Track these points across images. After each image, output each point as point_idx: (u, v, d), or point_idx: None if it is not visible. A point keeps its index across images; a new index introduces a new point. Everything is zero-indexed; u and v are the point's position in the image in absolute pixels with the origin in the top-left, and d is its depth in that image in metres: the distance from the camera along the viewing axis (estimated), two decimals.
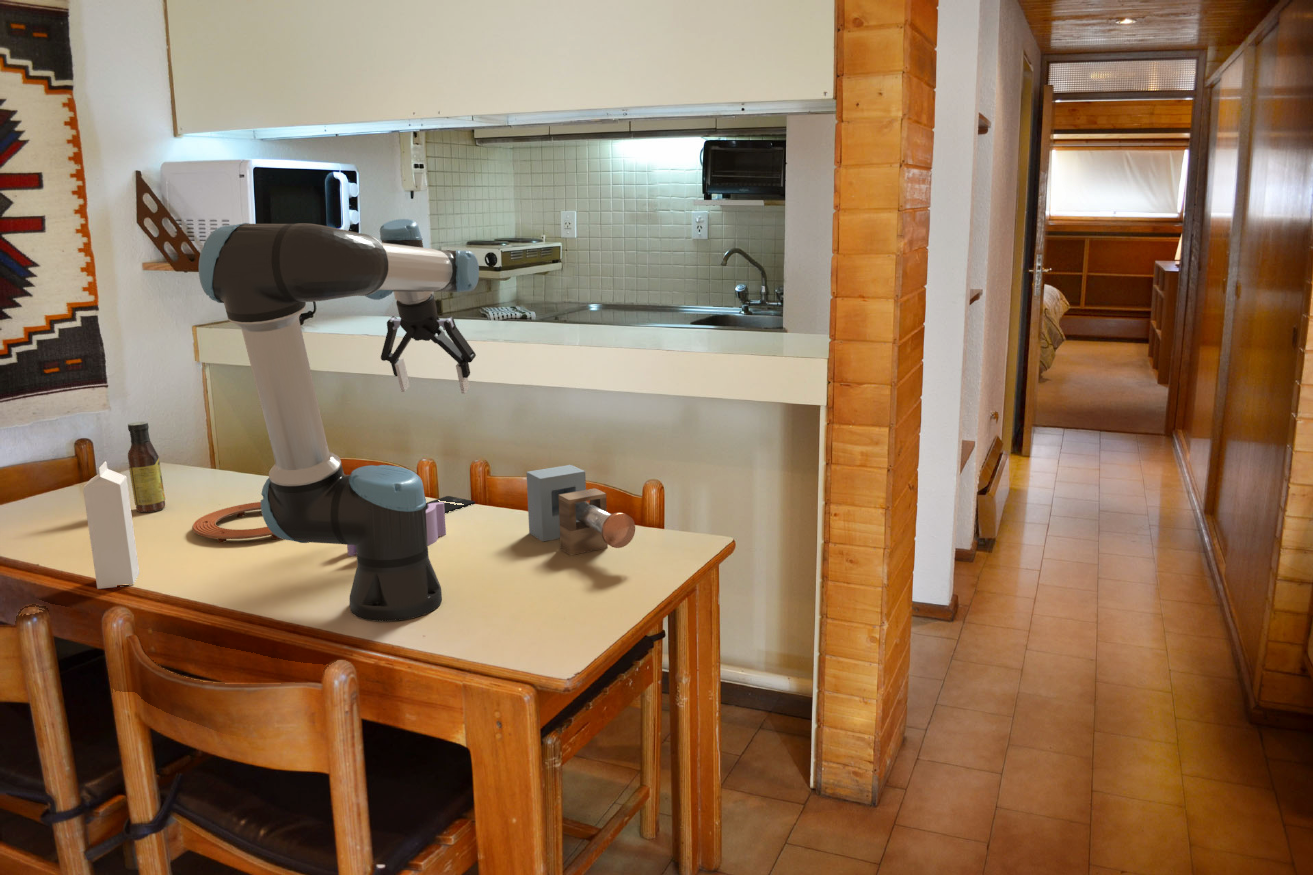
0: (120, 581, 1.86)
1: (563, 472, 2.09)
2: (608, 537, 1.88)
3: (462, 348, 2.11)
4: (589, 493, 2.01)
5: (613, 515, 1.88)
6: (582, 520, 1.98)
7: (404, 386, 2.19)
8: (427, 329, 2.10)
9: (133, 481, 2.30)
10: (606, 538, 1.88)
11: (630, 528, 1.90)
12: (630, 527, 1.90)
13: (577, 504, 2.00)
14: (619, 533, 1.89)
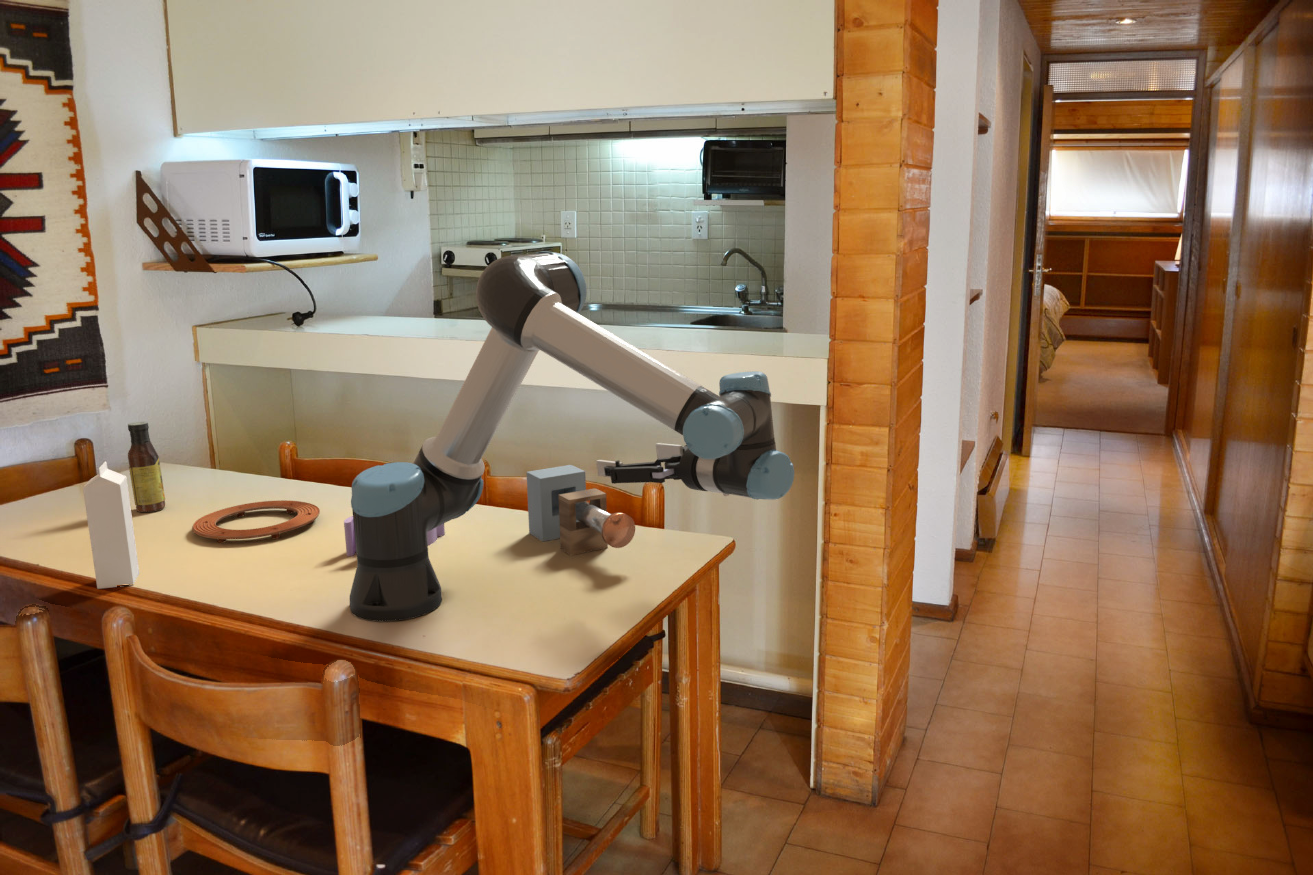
0: (120, 581, 1.86)
1: (563, 472, 2.09)
2: (608, 537, 1.88)
3: (627, 468, 1.70)
4: (589, 493, 2.01)
5: (613, 515, 1.88)
6: (582, 520, 1.98)
7: (659, 446, 1.87)
8: (674, 458, 1.71)
9: (133, 481, 2.30)
10: (606, 538, 1.88)
11: (630, 528, 1.90)
12: (630, 527, 1.90)
13: (577, 504, 2.00)
14: (619, 533, 1.89)
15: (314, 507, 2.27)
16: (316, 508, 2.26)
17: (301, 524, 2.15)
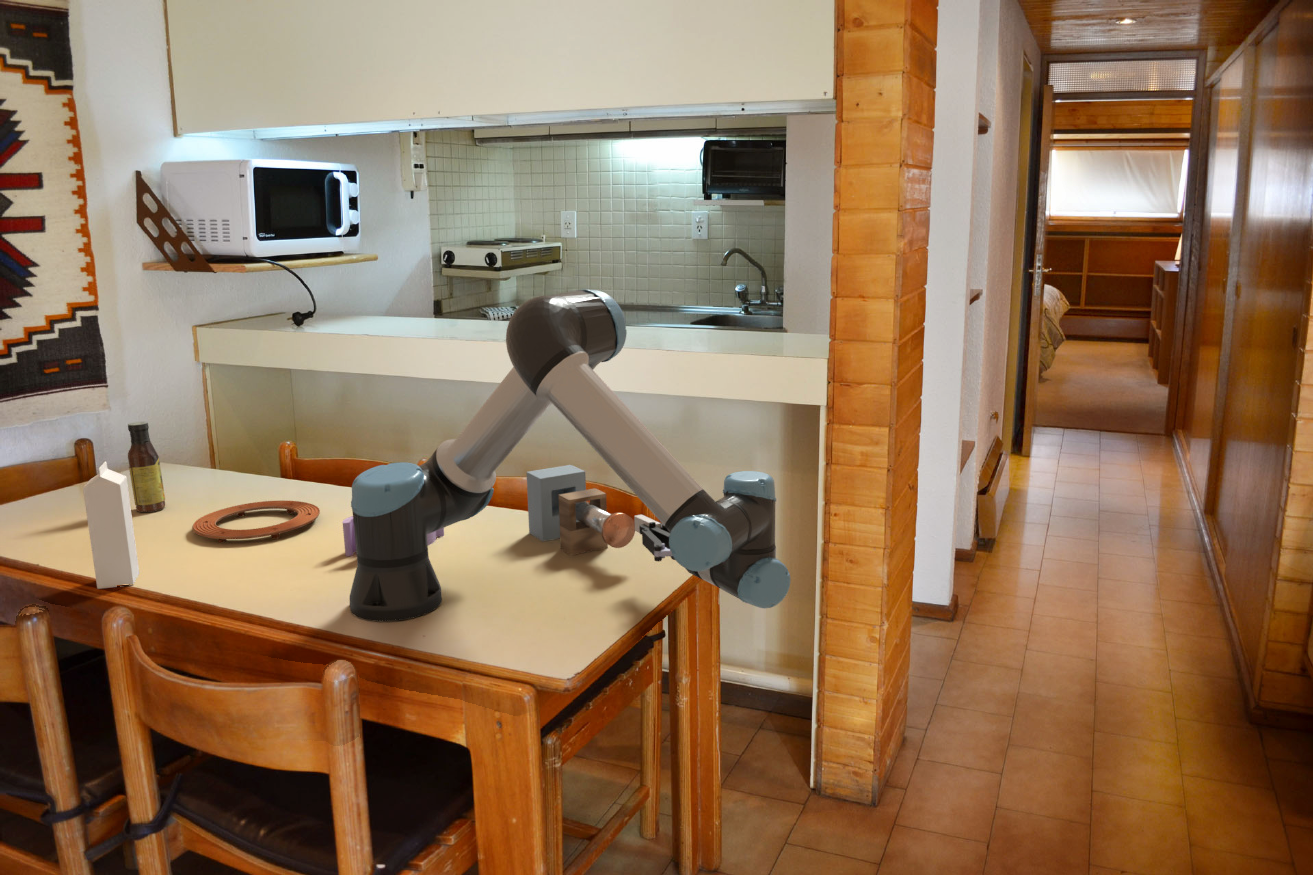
0: (120, 581, 1.86)
1: (563, 472, 2.09)
2: (608, 537, 1.88)
3: (648, 535, 1.72)
4: (589, 493, 2.01)
5: (613, 515, 1.88)
6: (582, 520, 1.98)
7: None
8: None
9: (133, 481, 2.30)
10: (606, 538, 1.88)
11: (630, 528, 1.90)
12: (630, 527, 1.90)
13: (577, 504, 2.00)
14: (619, 533, 1.89)
15: (314, 507, 2.27)
16: (316, 508, 2.26)
17: (301, 524, 2.14)
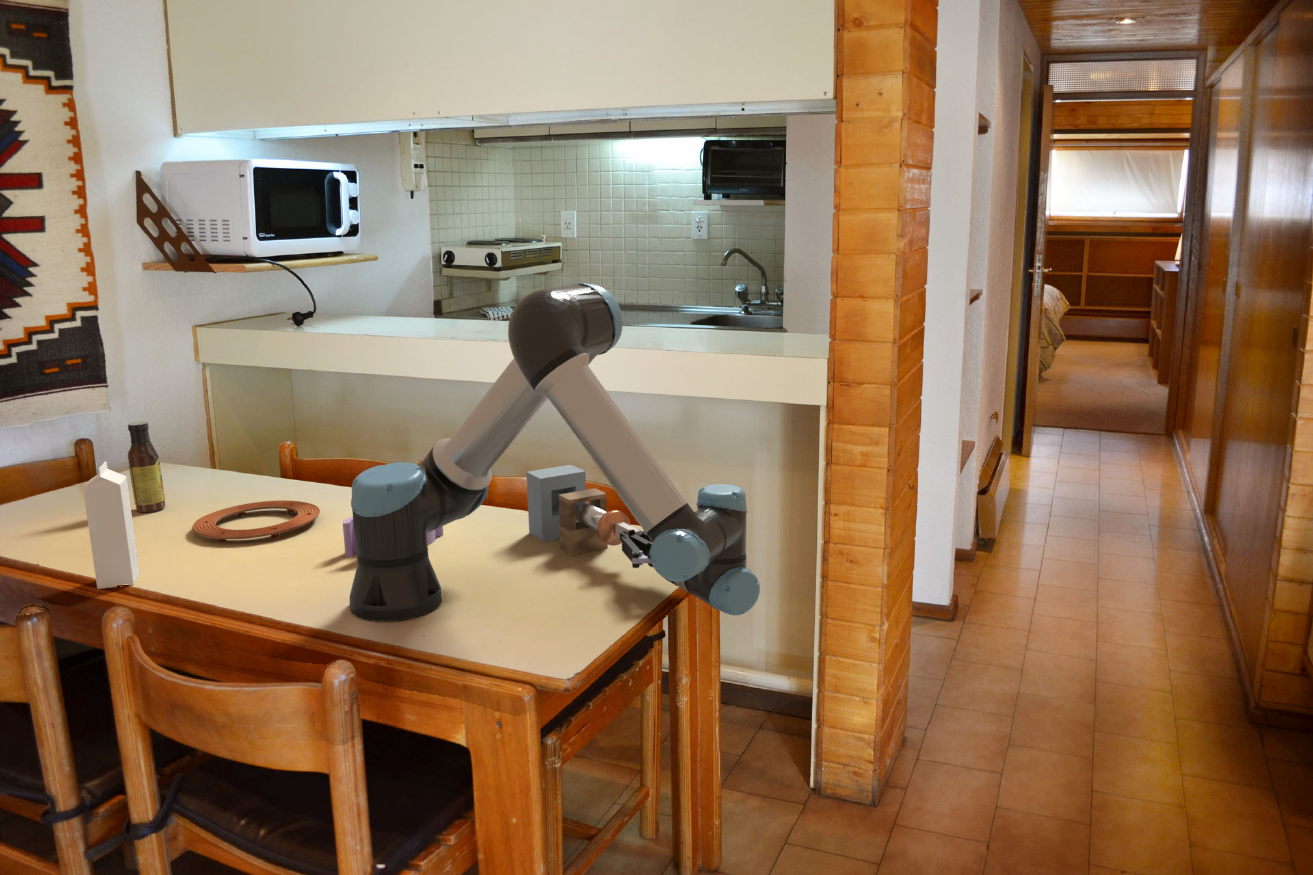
0: (120, 581, 1.86)
1: (563, 472, 2.09)
2: (604, 535, 1.89)
3: (627, 542, 1.80)
4: (589, 493, 2.01)
5: (609, 513, 1.90)
6: (578, 518, 1.99)
7: None
8: None
9: (133, 481, 2.30)
10: (602, 536, 1.89)
11: None
12: None
13: None
14: (614, 531, 1.90)
15: (314, 507, 2.27)
16: (316, 508, 2.26)
17: (301, 524, 2.14)
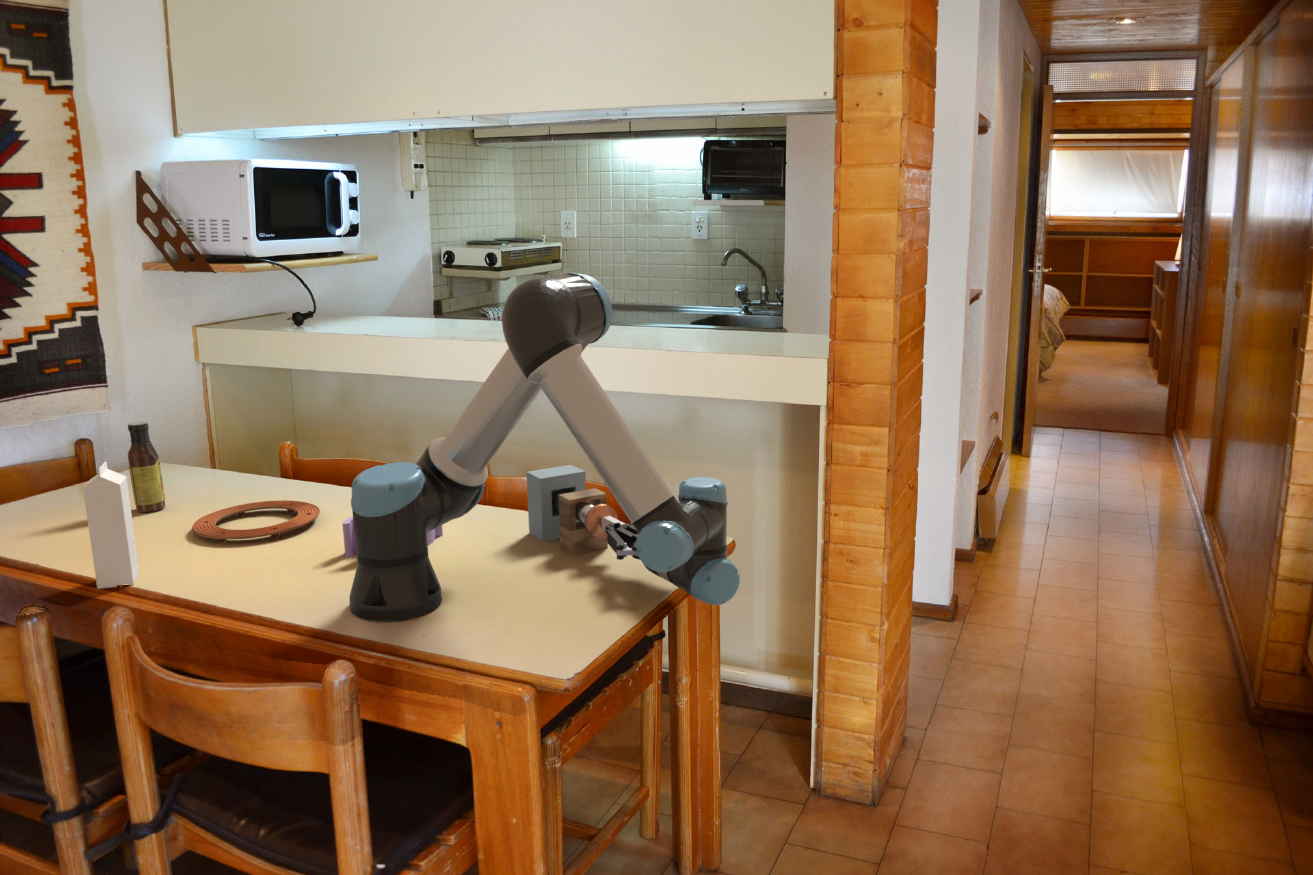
0: (120, 581, 1.86)
1: (563, 472, 2.09)
2: (591, 528, 1.93)
3: (612, 534, 1.84)
4: (589, 493, 2.01)
5: (596, 506, 1.94)
6: None
7: None
8: None
9: (133, 481, 2.30)
10: (589, 529, 1.93)
11: None
12: None
13: None
14: (601, 524, 1.95)
15: (314, 507, 2.27)
16: (316, 508, 2.26)
17: (301, 524, 2.14)
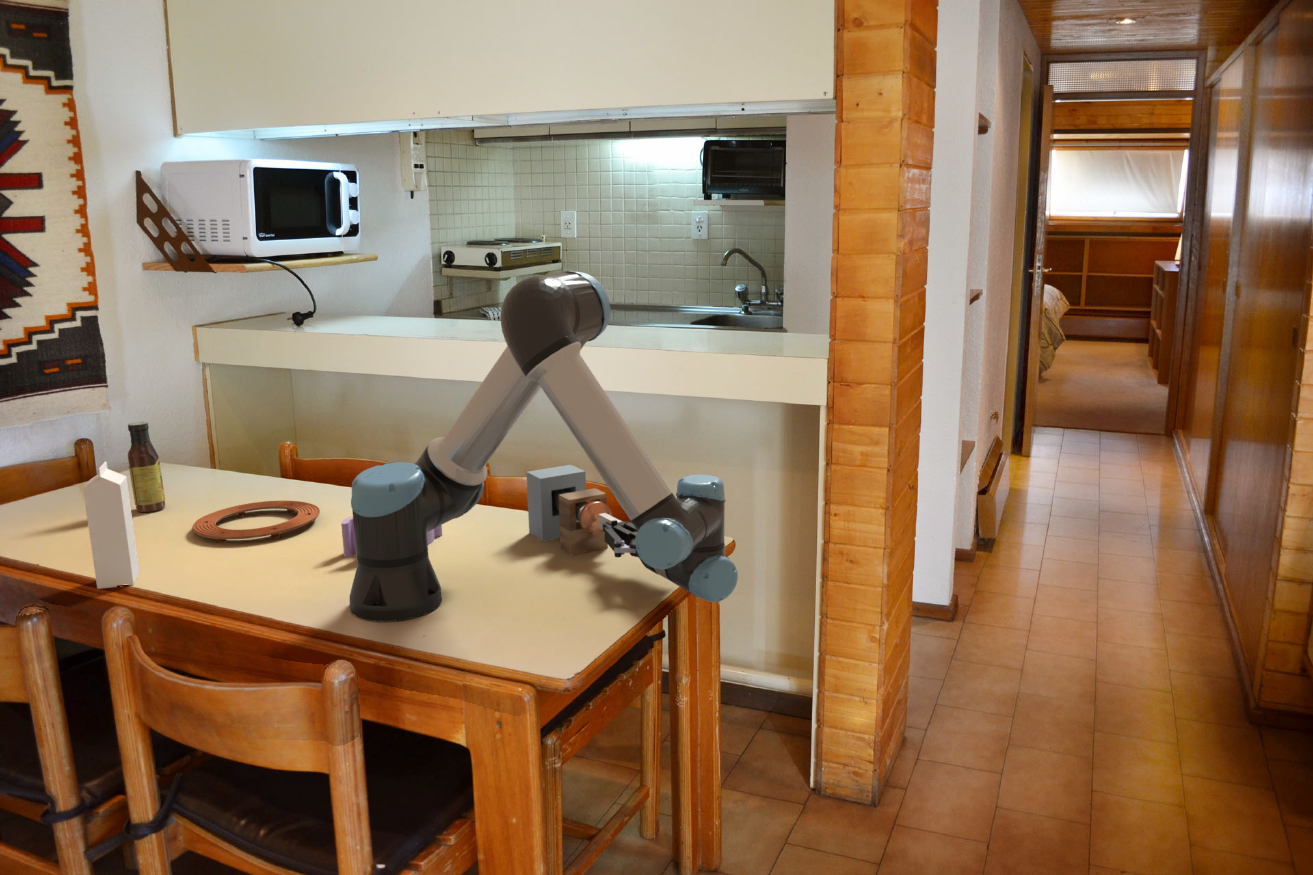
0: (120, 581, 1.86)
1: (563, 472, 2.09)
2: (586, 525, 1.95)
3: (609, 532, 1.84)
4: (589, 493, 2.01)
5: (590, 504, 1.96)
6: None
7: None
8: None
9: (133, 481, 2.30)
10: (584, 526, 1.95)
11: None
12: None
13: (557, 494, 2.08)
14: (596, 521, 1.96)
15: (314, 507, 2.27)
16: (316, 508, 2.26)
17: (301, 524, 2.14)
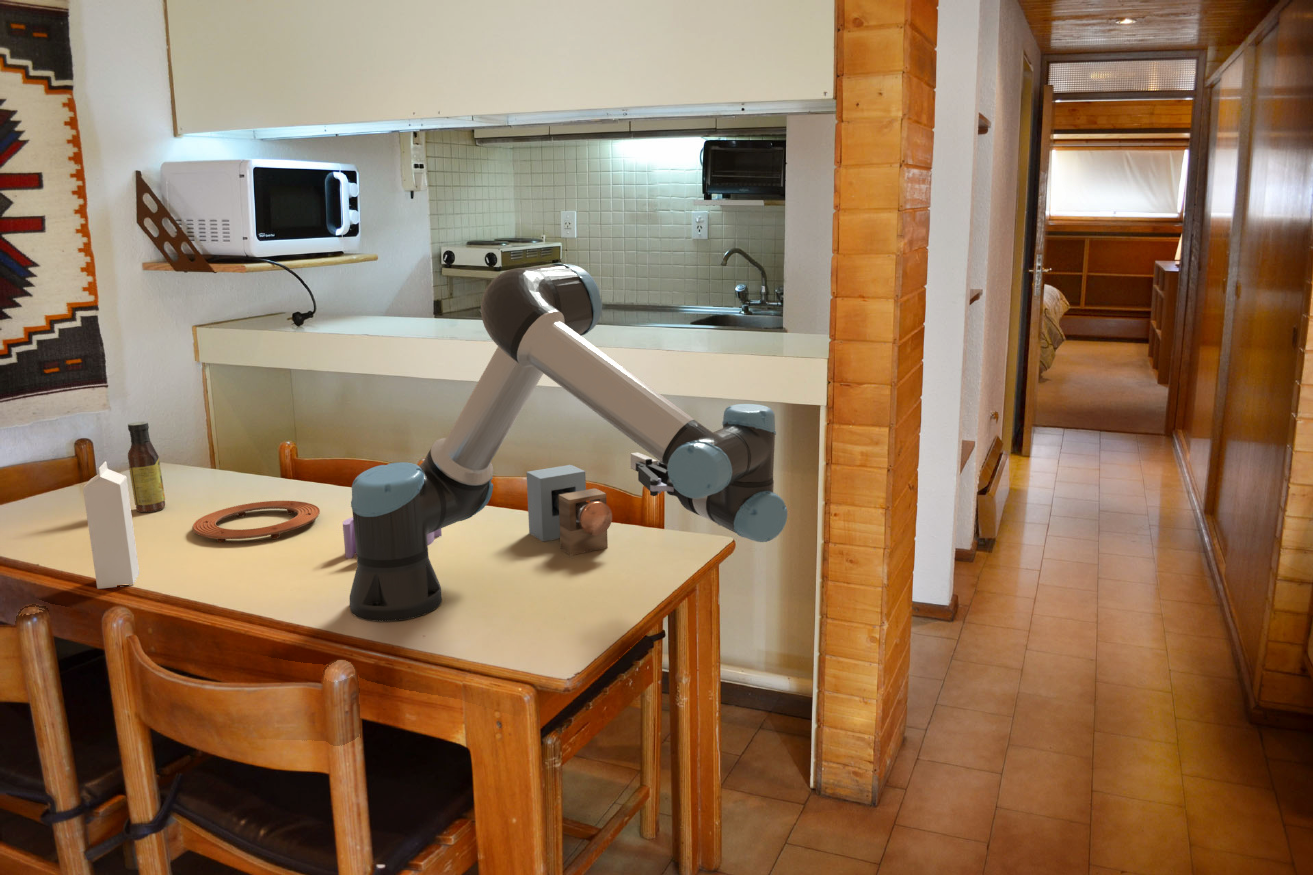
0: (120, 581, 1.86)
1: (563, 472, 2.09)
2: (586, 525, 1.95)
3: (644, 470, 1.70)
4: (589, 493, 2.01)
5: (590, 504, 1.96)
6: None
7: None
8: None
9: (133, 481, 2.30)
10: (584, 526, 1.95)
11: (607, 516, 1.97)
12: (607, 515, 1.97)
13: (557, 494, 2.08)
14: (596, 521, 1.96)
15: (314, 507, 2.27)
16: (316, 508, 2.26)
17: (301, 524, 2.14)
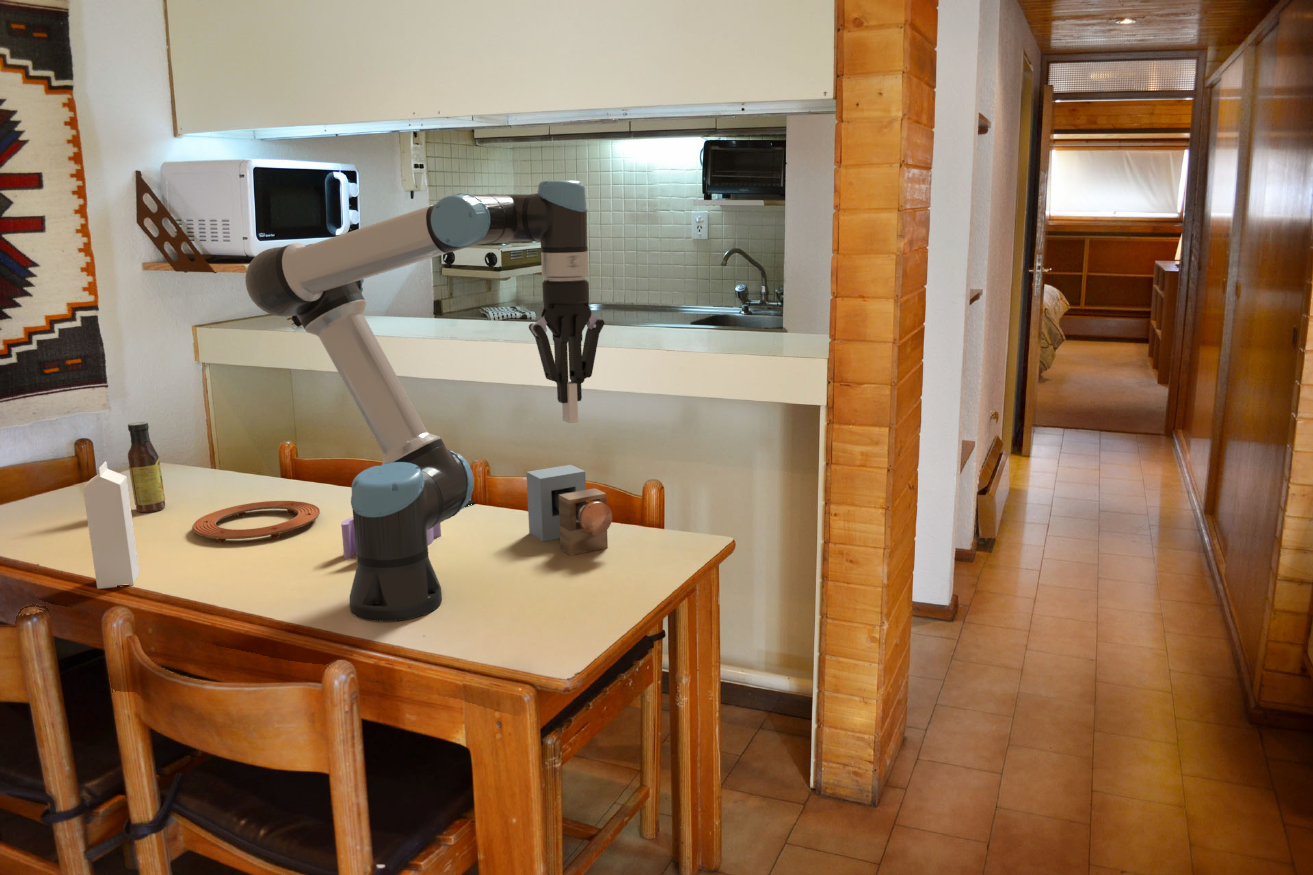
0: (120, 581, 1.86)
1: (563, 472, 2.09)
2: (586, 525, 1.95)
3: None
4: (589, 493, 2.01)
5: (590, 504, 1.96)
6: None
7: None
8: None
9: (133, 481, 2.30)
10: (584, 526, 1.95)
11: (607, 516, 1.97)
12: (607, 515, 1.97)
13: (557, 494, 2.08)
14: (596, 521, 1.96)
15: (314, 507, 2.27)
16: (316, 508, 2.26)
17: (301, 524, 2.14)
